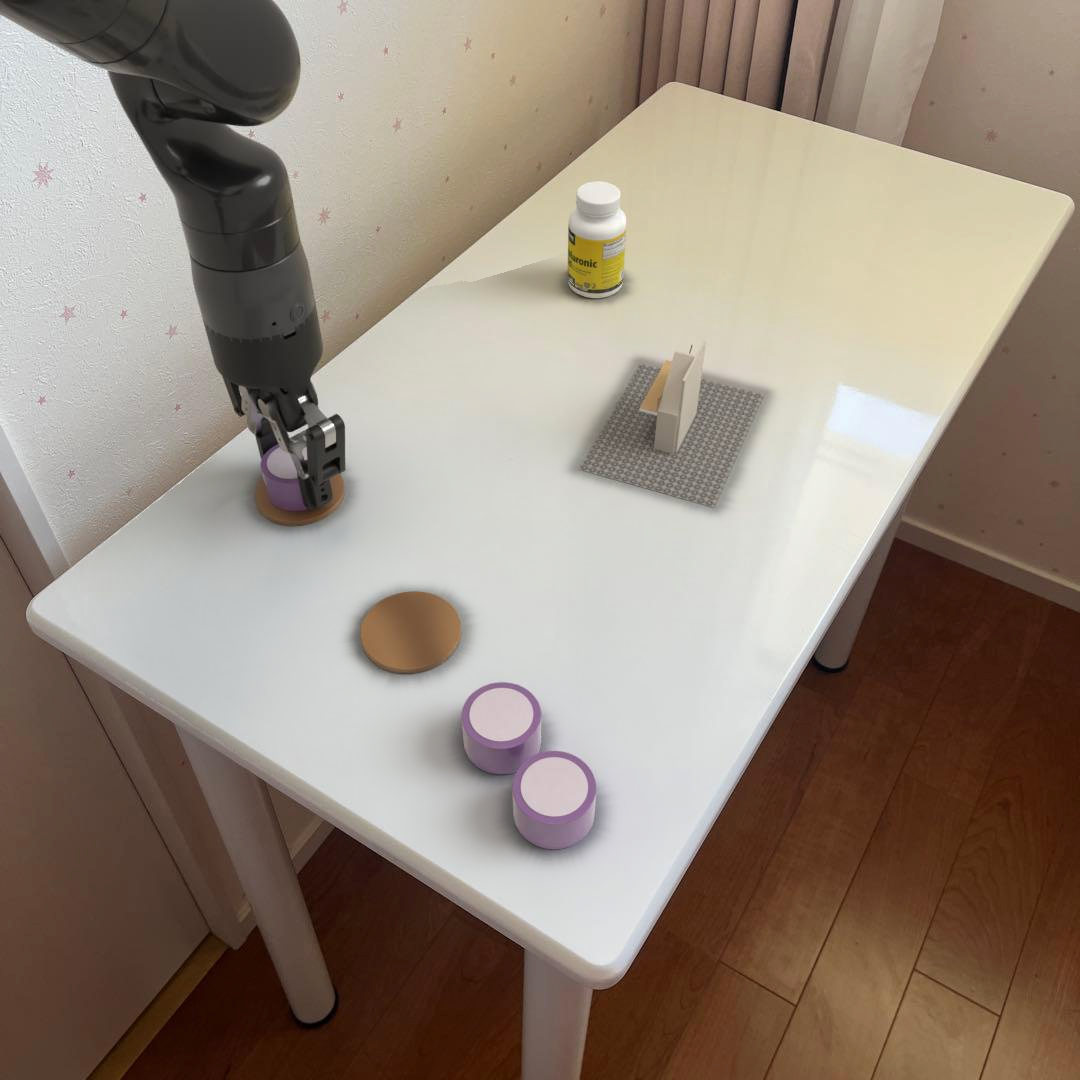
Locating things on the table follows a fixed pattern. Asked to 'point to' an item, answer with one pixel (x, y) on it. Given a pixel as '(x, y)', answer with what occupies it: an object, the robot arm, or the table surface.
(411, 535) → the table surface
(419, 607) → the brown wooden coaster
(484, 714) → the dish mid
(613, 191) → the supplement bottle
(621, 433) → the architectural model
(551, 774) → the purple rimmed puck
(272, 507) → the coaster far
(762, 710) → the table surface
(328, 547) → the table surface
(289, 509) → the purple short cylinder
